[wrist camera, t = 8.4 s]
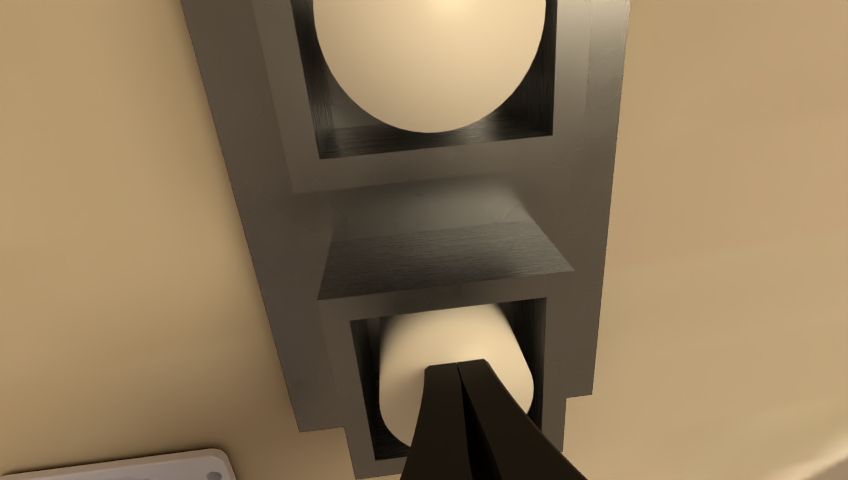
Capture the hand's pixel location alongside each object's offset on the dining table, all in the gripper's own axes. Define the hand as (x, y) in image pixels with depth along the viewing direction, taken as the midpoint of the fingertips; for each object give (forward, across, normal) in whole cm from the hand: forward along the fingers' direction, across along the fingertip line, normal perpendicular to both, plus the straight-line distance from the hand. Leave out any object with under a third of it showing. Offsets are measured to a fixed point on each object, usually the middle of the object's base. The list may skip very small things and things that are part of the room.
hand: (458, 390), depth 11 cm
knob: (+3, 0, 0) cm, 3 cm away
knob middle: (+3, 0, -8) cm, 9 cm away
